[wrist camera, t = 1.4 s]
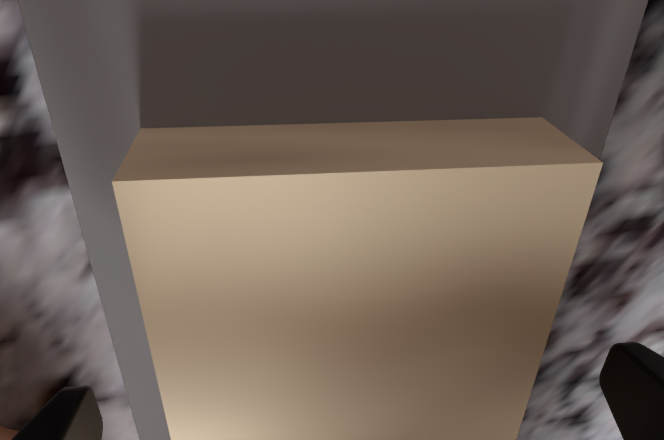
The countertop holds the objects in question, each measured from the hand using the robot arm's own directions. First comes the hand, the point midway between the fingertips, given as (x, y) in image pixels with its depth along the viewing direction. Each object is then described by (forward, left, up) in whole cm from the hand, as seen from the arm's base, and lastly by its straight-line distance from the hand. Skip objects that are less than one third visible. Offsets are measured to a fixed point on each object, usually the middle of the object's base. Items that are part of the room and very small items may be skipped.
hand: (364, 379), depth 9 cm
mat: (0, 0, -3) cm, 3 cm away
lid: (0, 0, -3) cm, 3 cm away
